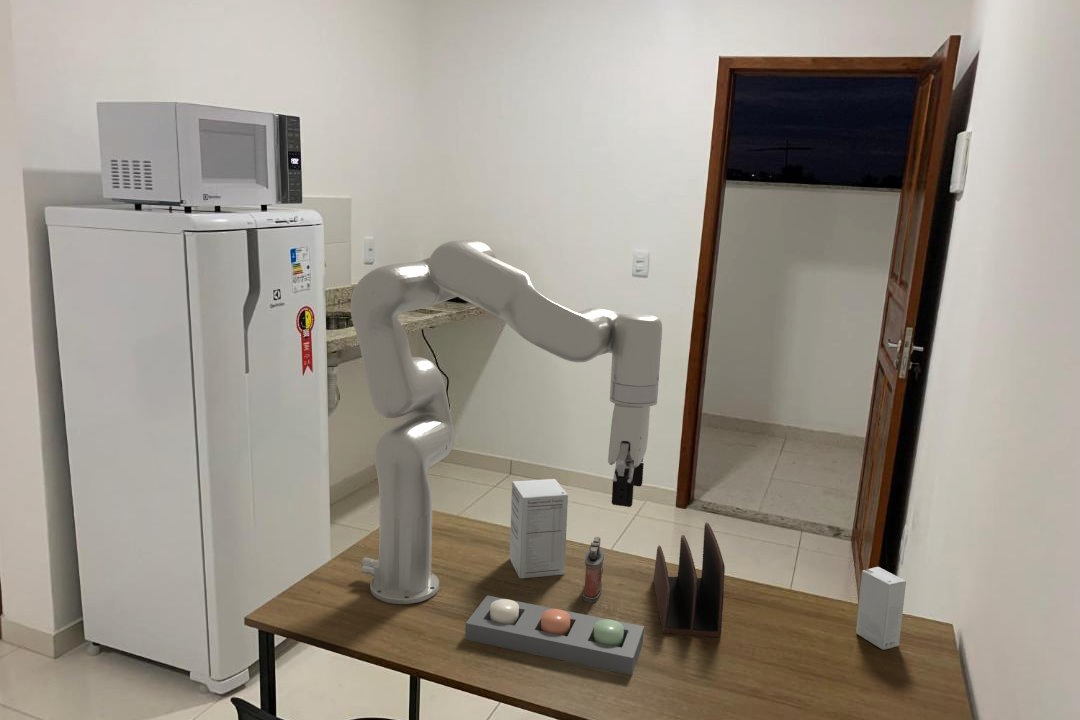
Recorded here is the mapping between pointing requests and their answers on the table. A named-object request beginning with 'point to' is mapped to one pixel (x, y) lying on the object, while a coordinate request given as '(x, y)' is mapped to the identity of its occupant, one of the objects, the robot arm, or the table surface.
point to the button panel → (556, 638)
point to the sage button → (608, 632)
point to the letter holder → (692, 590)
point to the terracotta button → (555, 622)
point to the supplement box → (538, 528)
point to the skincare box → (880, 607)
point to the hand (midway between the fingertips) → (627, 494)
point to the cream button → (504, 611)
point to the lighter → (593, 571)
